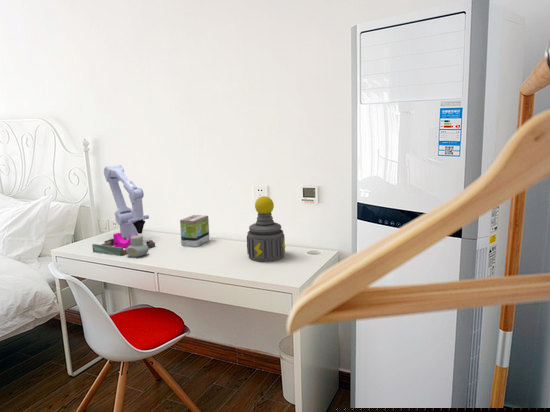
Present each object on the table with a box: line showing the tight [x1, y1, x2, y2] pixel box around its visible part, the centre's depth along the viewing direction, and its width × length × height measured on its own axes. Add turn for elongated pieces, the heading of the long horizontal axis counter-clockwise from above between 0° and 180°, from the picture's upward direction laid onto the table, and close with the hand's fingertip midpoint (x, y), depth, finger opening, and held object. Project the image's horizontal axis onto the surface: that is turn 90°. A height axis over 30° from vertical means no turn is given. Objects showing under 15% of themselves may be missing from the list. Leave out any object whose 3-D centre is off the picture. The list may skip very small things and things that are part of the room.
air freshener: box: [126, 234, 150, 258], centre depth 219 cm, size 11×8×10 cm
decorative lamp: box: [246, 195, 286, 263], centre depth 208 cm, size 19×19×30 cm
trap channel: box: [91, 237, 156, 257], centre depth 234 cm, size 23×29×4 cm
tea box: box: [179, 214, 210, 248], centre depth 238 cm, size 15×10×15 cm
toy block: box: [112, 232, 136, 249], centre depth 236 cm, size 15×6×8 cm, turn 62°
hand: (140, 233), depth 245 cm, fingers closed
